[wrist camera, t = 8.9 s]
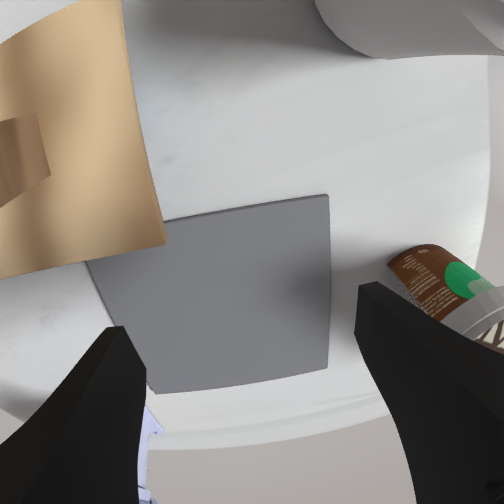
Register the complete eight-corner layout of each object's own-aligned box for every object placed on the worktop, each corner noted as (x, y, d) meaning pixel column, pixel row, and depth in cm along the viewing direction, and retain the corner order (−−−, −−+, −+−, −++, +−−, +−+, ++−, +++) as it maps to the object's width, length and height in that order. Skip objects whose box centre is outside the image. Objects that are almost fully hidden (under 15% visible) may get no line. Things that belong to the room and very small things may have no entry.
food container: (474, 283, 24) (534, 348, 15) (431, 325, 26) (482, 398, 17) (434, 197, 19) (533, 267, 10) (377, 253, 21) (455, 349, 12)
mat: (155, 390, 25) (155, 394, 25) (80, 239, 18) (78, 242, 17) (326, 364, 26) (327, 368, 26) (326, 193, 18) (328, 195, 18)
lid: (-3, 274, 14) (-42, 322, 10) (-55, 94, 8) (-111, 108, 4) (167, 237, 14) (150, 299, 10) (120, -8, 8) (78, -48, 4)
